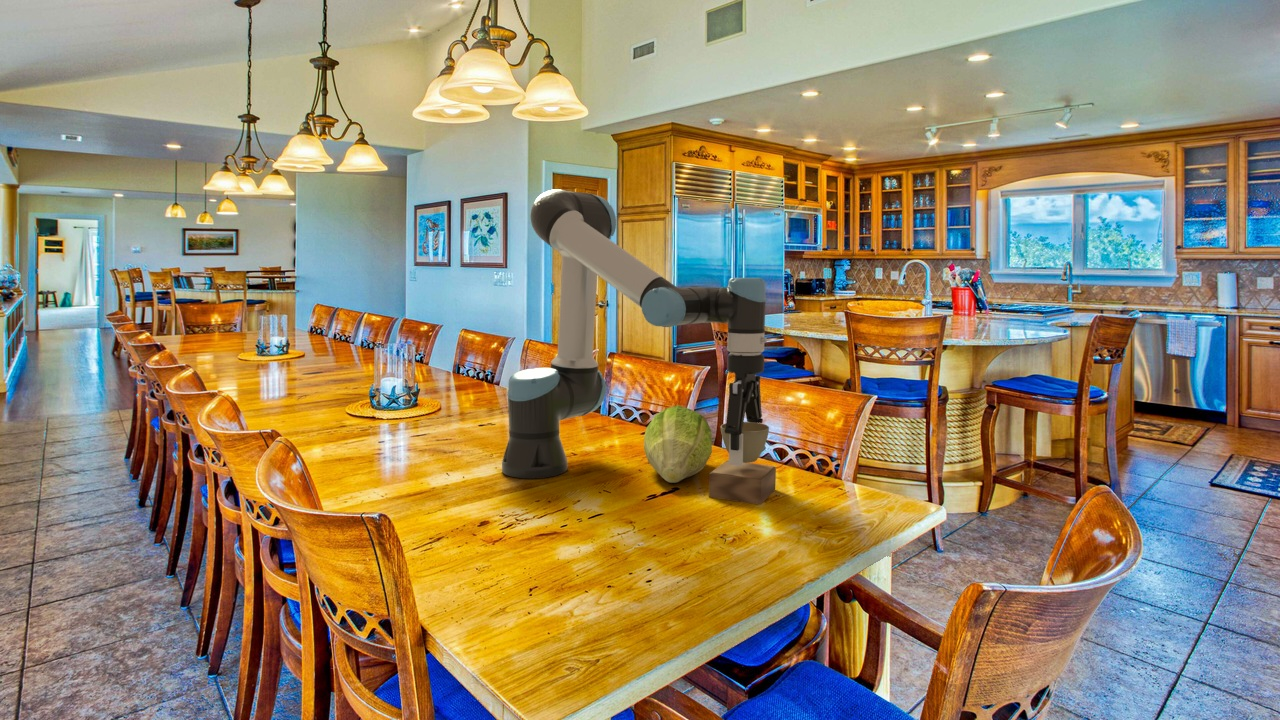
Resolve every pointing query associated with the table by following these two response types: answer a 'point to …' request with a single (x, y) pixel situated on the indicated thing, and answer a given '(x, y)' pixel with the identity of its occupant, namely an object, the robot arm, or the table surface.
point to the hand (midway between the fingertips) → (743, 458)
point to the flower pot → (749, 439)
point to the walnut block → (742, 482)
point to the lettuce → (678, 443)
